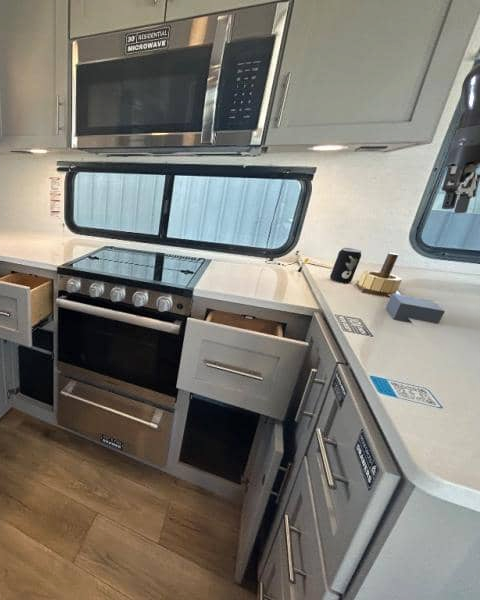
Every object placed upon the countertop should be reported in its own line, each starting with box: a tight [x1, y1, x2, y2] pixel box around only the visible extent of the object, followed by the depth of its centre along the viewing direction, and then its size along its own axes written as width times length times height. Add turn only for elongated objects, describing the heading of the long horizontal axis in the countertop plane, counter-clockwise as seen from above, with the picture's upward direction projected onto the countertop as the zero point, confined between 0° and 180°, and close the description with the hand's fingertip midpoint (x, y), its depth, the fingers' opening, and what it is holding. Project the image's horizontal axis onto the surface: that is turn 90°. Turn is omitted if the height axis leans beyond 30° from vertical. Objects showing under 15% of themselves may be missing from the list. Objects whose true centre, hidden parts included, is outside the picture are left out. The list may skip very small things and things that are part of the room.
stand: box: [356, 252, 402, 298], centre depth 111 cm, size 10×10×14 cm
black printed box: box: [329, 247, 362, 284], centre depth 121 cm, size 7×7×12 cm
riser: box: [385, 293, 446, 325], centre depth 93 cm, size 9×9×5 cm
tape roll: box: [357, 270, 403, 293], centre depth 113 cm, size 10×10×4 cm
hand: (454, 211), depth 89 cm, fingers open, 8 cm apart
